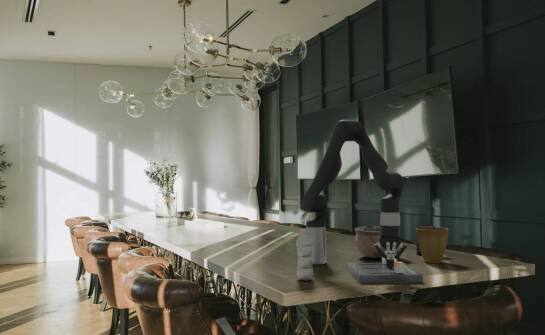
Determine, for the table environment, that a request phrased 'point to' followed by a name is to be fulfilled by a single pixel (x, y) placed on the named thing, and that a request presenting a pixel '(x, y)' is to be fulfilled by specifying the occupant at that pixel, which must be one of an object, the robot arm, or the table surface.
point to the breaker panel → (383, 273)
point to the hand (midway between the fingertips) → (390, 269)
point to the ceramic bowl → (368, 241)
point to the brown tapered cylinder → (417, 239)
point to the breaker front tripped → (399, 267)
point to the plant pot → (432, 243)
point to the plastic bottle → (304, 256)
